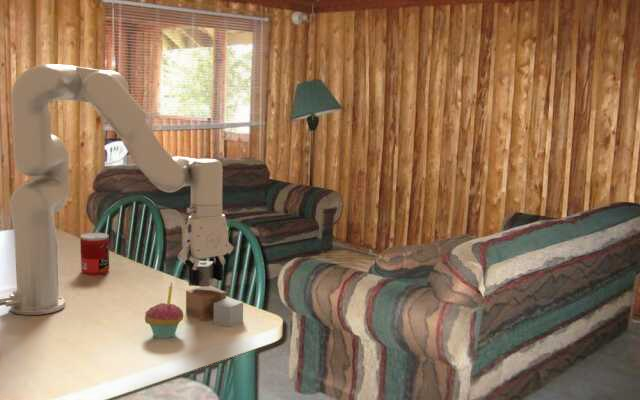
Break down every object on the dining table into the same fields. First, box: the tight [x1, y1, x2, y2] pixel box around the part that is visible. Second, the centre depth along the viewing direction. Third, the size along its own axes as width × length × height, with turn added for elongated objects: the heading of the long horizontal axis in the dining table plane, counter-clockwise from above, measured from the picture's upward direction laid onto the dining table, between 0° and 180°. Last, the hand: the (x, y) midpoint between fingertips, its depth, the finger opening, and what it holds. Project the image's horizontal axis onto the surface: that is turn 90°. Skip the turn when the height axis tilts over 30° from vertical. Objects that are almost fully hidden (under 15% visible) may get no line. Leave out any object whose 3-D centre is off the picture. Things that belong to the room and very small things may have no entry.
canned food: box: [79, 232, 110, 276], centre depth 204 cm, size 8×8×11 cm
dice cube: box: [188, 260, 214, 287], centre depth 171 cm, size 5×5×5 cm
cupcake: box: [144, 282, 184, 339], centre depth 157 cm, size 9×8×12 cm
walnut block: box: [185, 285, 227, 322], centre depth 172 cm, size 7×7×6 cm
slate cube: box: [213, 297, 244, 328], centre depth 167 cm, size 5×5×5 cm
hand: (206, 281), depth 171 cm, fingers closed on dice cube, 6 cm apart
